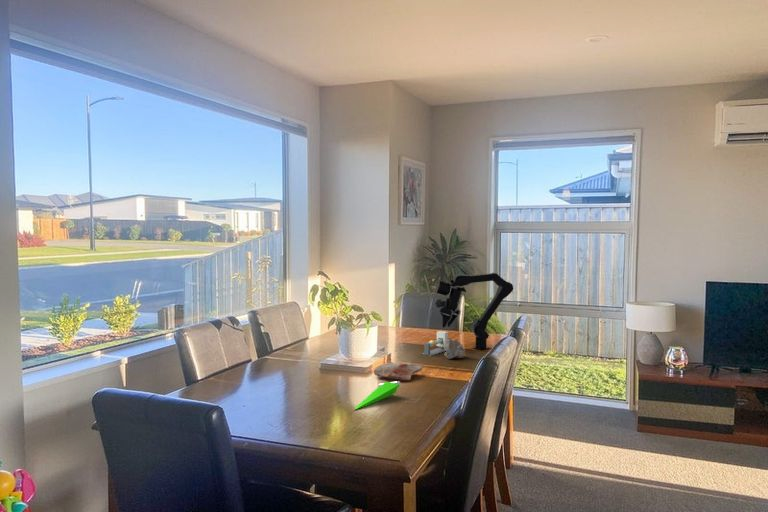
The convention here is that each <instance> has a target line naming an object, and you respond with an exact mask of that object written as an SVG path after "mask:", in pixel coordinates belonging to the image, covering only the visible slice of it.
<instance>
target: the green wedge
mask: <svg viewBox="0 0 768 512" xmlns="http://www.w3.org/2000/svg"><path fill="white" fill-rule="evenodd" d="M401 385H402V383H401V381H400V380H396V381H390V382H389V381H385V382H384V383H383V382H382V383H379V384H378V387H376V388H375V389H374V390H373V391H372V392H371V393H370V394H369V395H367V396H366V397H365V398H364V399H363V400H362V401H361V402H360V403H359V404H358V405H356V407H354V408H355V409H357V410H359V409H358V408H360V409H362V408H364V406H365V407H368V406H369V404H370V405H372V404H374V402H375V403H377V402H379V400H380V401H382V400H384V399H387V398H390V397H391V396H393V395H394V394H395V393H397V391H398V388H400V387H401ZM361 407H362V408H361Z"/></svg>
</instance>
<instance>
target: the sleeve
mask: <svg viewBox="0 0 768 512" xmlns="http://www.w3.org/2000/svg"><path fill="white" fill-rule="evenodd" d="M441 338H443V343H440V344H436V346H437V347H440V346H441V347H444V345H445V341H446V340H448V338H449V332H448V331H443V330H438V331H436V340H439V339H441Z"/></svg>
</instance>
